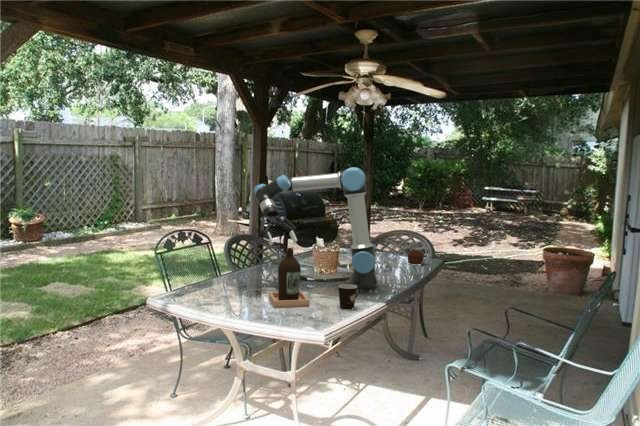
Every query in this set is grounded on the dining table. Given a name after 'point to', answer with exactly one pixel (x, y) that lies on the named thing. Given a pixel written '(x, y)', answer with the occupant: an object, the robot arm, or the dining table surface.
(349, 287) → the coffee mug
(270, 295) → the bin
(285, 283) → the olive oil
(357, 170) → the robot arm
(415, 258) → the muffin
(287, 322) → the dining table surface
